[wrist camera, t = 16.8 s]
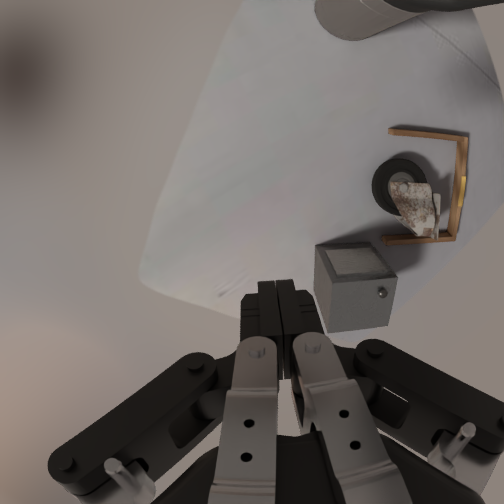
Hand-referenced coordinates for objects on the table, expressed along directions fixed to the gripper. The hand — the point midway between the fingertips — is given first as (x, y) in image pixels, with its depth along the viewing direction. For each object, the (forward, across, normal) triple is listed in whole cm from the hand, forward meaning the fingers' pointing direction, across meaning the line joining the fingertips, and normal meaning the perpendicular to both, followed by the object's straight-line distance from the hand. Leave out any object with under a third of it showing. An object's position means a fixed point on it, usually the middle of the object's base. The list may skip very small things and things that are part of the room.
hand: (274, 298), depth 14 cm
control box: (+32, -13, +17) cm, 38 cm away
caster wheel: (+32, -22, +5) cm, 39 cm away
